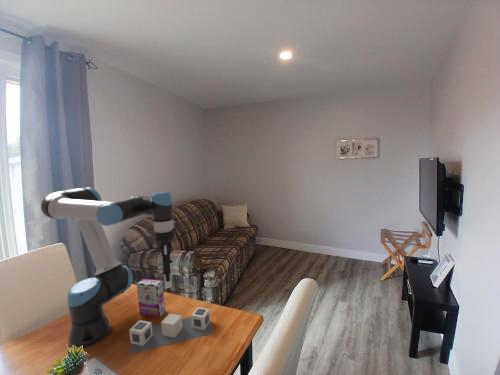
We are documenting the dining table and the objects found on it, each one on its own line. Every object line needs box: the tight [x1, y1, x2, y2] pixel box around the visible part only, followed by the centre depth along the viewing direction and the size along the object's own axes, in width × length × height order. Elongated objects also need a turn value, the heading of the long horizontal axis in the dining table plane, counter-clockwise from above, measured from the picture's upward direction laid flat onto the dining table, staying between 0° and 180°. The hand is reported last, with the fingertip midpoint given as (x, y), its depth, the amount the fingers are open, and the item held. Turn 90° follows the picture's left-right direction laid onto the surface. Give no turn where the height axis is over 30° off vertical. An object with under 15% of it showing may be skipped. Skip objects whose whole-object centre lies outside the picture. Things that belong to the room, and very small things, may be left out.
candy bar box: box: [136, 278, 166, 318], centre depth 118 cm, size 11×5×16 cm, turn 76°
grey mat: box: [129, 316, 213, 355], centre depth 106 cm, size 32×14×1 cm, turn 108°
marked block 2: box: [190, 306, 211, 330], centre depth 109 cm, size 6×6×6 cm
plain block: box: [160, 312, 183, 338], centre depth 106 cm, size 6×6×6 cm
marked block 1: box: [129, 319, 153, 346], centre depth 102 cm, size 6×6×6 cm
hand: (168, 282), depth 103 cm, fingers open, 7 cm apart
